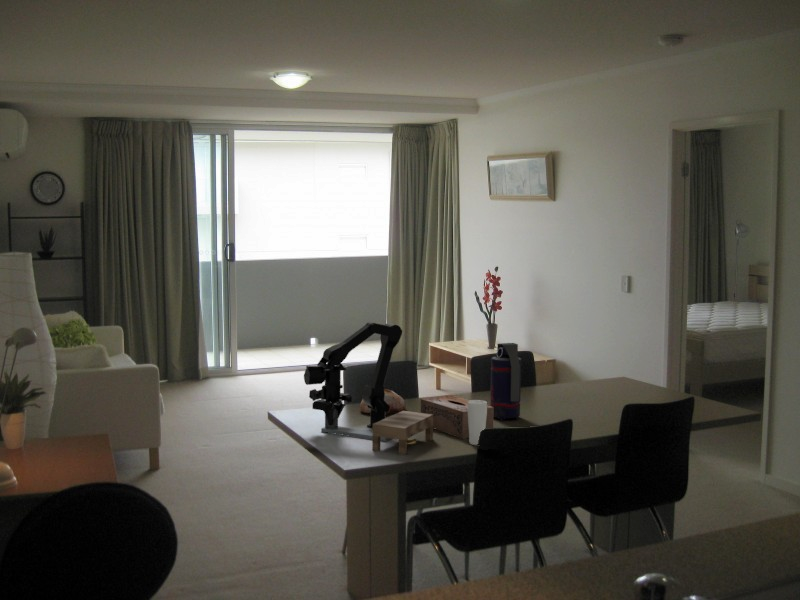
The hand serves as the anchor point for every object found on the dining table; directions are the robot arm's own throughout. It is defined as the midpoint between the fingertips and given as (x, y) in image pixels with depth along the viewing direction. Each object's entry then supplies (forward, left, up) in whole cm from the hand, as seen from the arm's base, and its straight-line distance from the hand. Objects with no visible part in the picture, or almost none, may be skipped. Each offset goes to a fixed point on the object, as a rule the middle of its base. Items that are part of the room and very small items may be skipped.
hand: (332, 424), depth 306 cm
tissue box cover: (-27, +38, -3) cm, 47 cm away
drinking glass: (-10, +53, -3) cm, 54 cm away
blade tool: (0, +10, -3) cm, 11 cm away
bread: (-39, 0, -3) cm, 39 cm away
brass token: (0, +31, -3) cm, 31 cm away
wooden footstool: (+3, +31, -2) cm, 31 cm away
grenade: (-52, +49, -3) cm, 72 cm away
